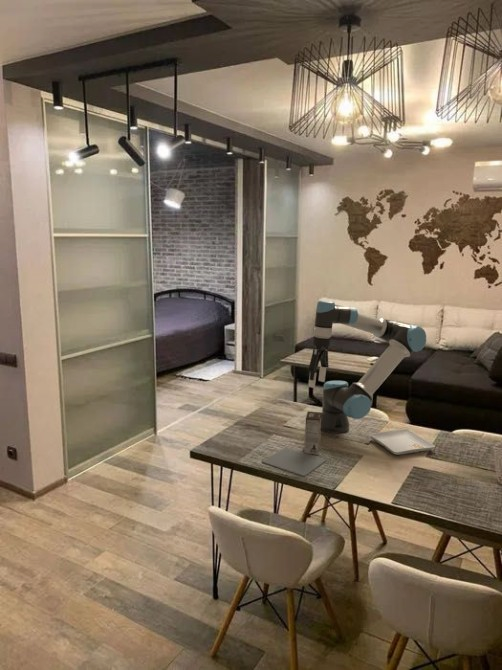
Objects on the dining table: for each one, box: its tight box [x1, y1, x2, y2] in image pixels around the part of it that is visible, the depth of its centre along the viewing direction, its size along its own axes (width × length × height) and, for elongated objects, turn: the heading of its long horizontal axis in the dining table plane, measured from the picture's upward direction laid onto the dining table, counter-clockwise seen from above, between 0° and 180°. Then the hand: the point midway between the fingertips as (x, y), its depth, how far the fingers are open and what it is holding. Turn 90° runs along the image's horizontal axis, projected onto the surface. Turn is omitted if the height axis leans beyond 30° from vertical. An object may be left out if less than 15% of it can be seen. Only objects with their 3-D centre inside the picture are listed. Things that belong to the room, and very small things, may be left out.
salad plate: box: [368, 428, 436, 456], centre depth 225 cm, size 21×21×3 cm
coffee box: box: [303, 411, 322, 455], centre depth 217 cm, size 9×6×16 cm
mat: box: [261, 446, 327, 478], centre depth 207 cm, size 18×20×1 cm
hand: (316, 384), depth 220 cm, fingers open, 13 cm apart
